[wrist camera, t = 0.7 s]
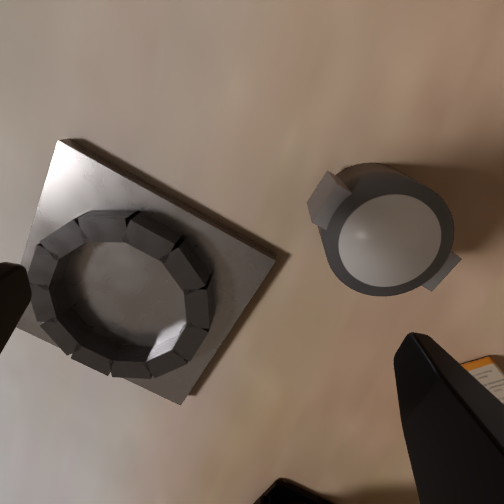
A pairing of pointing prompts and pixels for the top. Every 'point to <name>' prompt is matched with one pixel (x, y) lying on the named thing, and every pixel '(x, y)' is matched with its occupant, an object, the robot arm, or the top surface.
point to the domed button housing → (383, 230)
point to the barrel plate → (133, 275)
